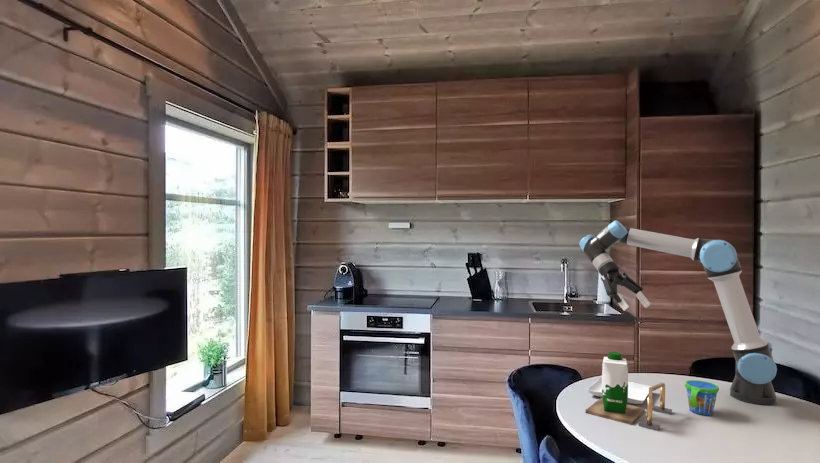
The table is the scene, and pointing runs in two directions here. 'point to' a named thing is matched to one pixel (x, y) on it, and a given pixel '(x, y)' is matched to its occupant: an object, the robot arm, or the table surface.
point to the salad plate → (635, 391)
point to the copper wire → (655, 407)
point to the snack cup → (701, 396)
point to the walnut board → (628, 417)
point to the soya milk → (615, 383)
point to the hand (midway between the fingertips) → (637, 307)
